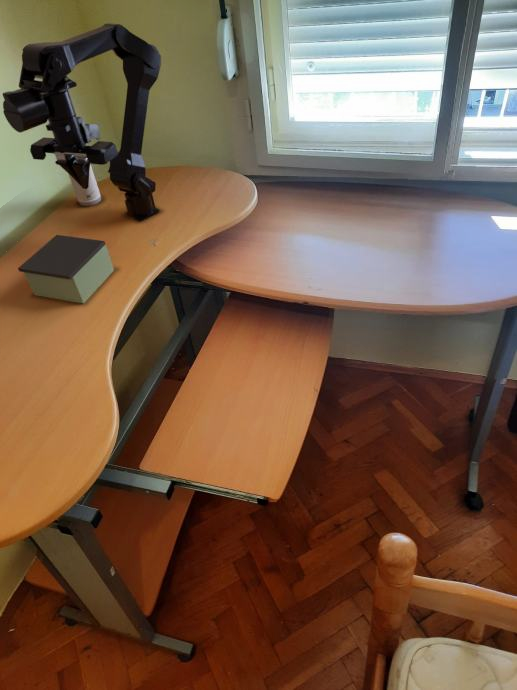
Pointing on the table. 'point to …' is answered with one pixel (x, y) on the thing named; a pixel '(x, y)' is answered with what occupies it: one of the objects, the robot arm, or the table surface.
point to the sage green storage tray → (74, 280)
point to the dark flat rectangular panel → (62, 257)
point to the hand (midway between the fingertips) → (86, 188)
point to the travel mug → (87, 191)
